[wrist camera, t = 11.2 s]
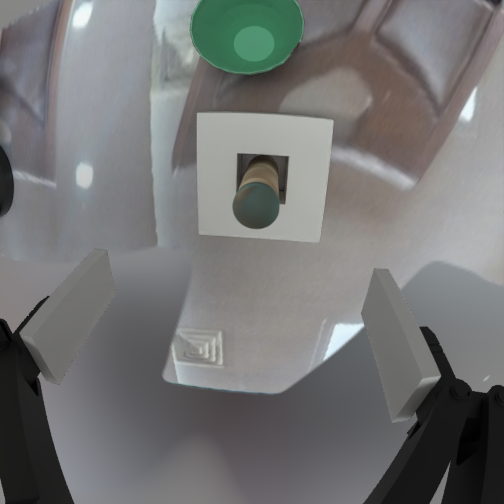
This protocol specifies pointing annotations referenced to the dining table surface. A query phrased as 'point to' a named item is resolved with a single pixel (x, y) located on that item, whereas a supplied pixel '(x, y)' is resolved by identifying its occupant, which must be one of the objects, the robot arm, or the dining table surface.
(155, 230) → the dining table surface
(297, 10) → the mug
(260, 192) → the peg
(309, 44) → the dining table surface
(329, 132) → the socket block
